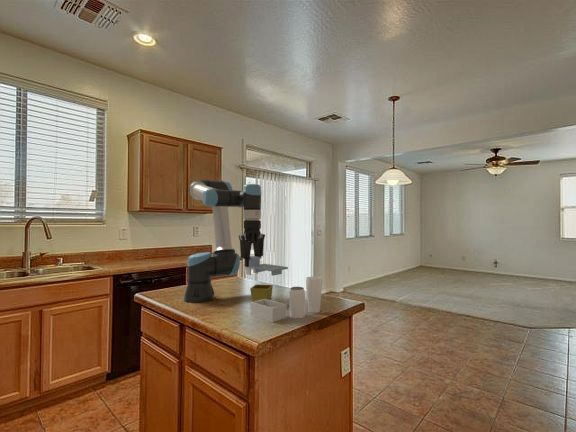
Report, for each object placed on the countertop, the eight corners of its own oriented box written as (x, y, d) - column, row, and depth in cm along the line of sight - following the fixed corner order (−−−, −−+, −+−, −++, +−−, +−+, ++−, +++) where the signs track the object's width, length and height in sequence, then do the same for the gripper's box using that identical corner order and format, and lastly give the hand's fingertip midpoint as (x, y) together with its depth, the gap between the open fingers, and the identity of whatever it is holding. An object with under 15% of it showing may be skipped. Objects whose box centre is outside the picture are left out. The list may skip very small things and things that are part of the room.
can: (288, 314, 133) (288, 286, 133) (303, 314, 133) (303, 286, 134) (290, 319, 126) (290, 289, 127) (306, 319, 127) (306, 289, 127)
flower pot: (268, 308, 142) (268, 288, 143) (249, 307, 144) (249, 288, 144) (273, 303, 151) (272, 285, 151) (255, 302, 153) (255, 284, 153)
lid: (241, 271, 134) (241, 257, 134) (256, 268, 141) (256, 255, 141) (272, 276, 121) (272, 261, 121) (287, 273, 128) (287, 259, 128)
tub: (250, 316, 130) (250, 302, 130) (264, 312, 136) (264, 298, 136) (272, 323, 121) (272, 308, 121) (286, 319, 127) (286, 304, 127)
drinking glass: (317, 315, 132) (317, 279, 132) (303, 313, 135) (303, 278, 136) (324, 311, 138) (324, 277, 138) (310, 309, 141) (310, 275, 141)
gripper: (242, 219, 128) (242, 277, 127) (271, 219, 140) (271, 272, 139) (231, 219, 133) (231, 275, 132) (260, 219, 145) (260, 270, 145)
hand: (252, 273), depth 136 cm, fingers closed on lid, 3 cm apart
